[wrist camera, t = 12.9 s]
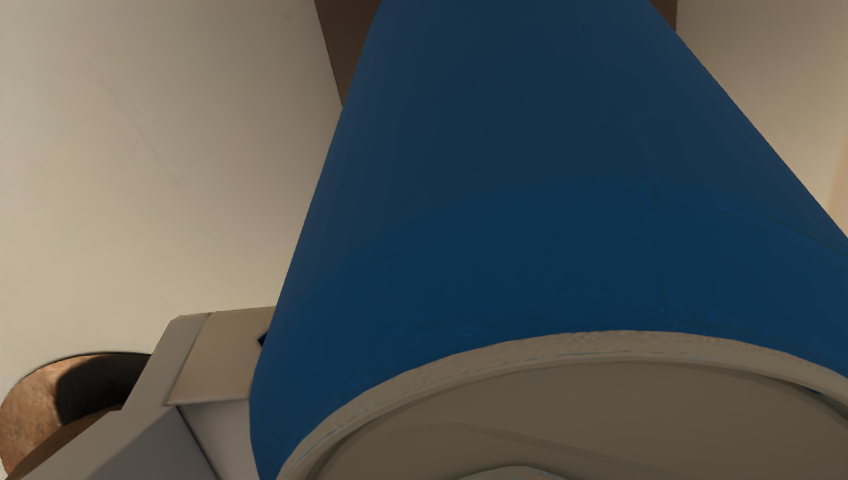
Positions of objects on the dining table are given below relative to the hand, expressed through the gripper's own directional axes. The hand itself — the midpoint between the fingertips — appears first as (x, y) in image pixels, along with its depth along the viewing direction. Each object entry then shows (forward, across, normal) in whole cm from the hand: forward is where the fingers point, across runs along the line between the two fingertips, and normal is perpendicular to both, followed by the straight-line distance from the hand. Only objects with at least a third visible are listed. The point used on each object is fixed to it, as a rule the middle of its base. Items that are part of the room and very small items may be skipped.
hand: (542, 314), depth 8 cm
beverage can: (+9, 0, 0) cm, 9 cm away
